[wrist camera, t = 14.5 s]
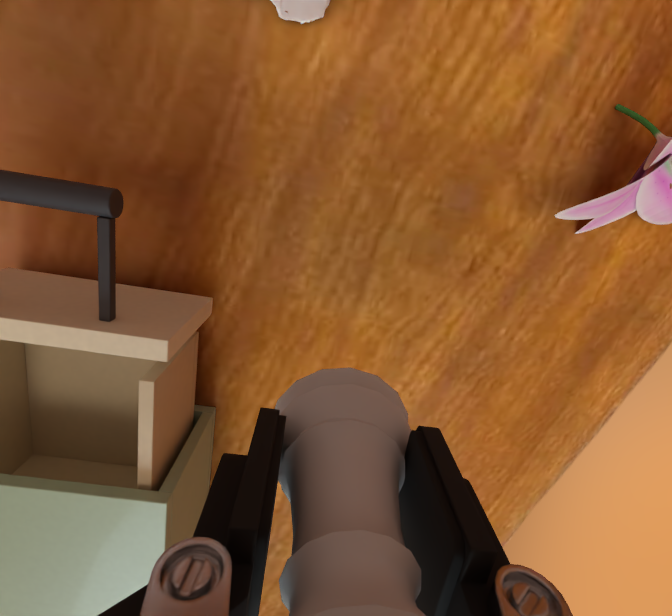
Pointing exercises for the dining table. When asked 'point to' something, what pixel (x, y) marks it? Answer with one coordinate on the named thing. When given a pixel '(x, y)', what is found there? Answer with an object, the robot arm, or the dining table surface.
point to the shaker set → (301, 9)
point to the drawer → (92, 359)
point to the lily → (634, 188)
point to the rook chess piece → (346, 497)
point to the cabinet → (96, 533)
